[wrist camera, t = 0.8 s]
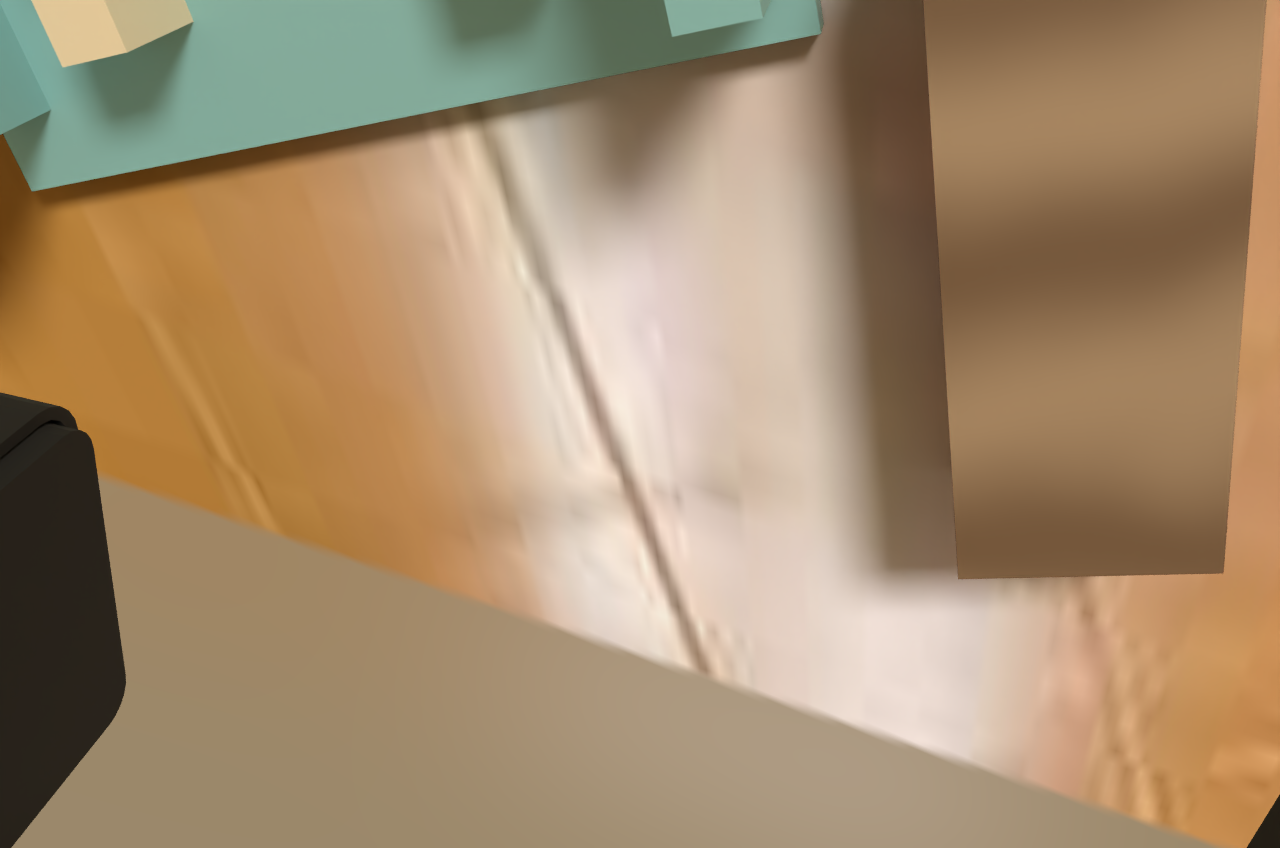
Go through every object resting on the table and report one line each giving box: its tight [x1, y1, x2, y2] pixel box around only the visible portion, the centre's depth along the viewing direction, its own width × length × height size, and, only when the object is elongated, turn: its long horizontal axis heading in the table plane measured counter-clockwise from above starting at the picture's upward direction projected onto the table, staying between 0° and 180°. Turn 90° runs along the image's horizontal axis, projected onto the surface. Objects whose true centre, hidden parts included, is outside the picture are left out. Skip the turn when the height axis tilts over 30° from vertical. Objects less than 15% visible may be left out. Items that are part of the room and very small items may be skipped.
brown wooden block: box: [923, 0, 1266, 579], centre depth 27 cm, size 16×6×5 cm, turn 11°
